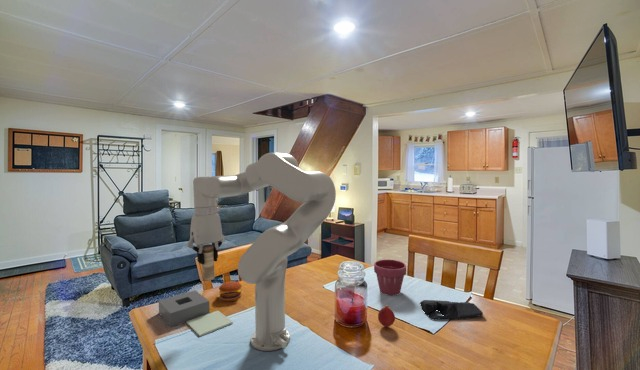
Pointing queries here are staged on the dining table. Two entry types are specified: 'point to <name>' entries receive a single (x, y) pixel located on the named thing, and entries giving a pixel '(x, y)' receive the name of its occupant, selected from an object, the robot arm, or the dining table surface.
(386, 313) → the onion
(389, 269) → the plant pot
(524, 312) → the dining table surface
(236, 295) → the hamburger
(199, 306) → the socket block
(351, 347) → the dining table surface
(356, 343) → the dining table surface
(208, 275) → the plug
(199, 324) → the coaster
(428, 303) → the black pouch
